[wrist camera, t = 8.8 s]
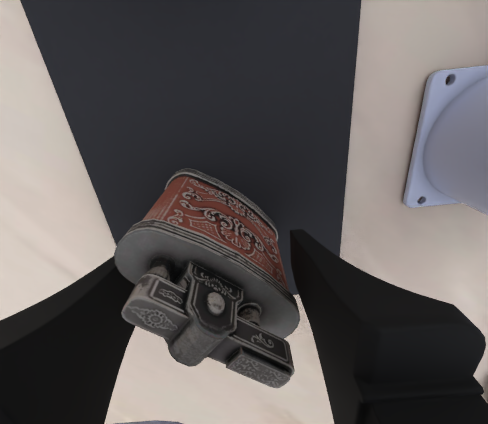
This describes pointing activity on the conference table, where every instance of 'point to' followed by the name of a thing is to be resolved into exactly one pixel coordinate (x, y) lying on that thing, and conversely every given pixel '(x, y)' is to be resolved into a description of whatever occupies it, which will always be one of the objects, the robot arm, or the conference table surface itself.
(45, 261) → the conference table surface
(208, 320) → the lighter
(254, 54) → the desk mat
